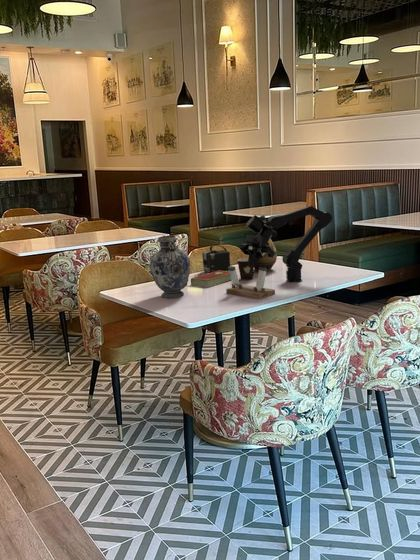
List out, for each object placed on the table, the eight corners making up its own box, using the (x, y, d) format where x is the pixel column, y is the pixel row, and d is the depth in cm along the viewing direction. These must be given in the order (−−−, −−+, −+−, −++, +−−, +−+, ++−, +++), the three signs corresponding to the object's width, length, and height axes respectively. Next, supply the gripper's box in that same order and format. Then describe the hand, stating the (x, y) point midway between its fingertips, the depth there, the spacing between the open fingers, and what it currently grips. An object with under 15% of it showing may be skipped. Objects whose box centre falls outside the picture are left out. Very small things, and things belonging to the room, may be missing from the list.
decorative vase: (198, 297, 242) (192, 236, 236) (158, 303, 237) (151, 241, 232) (186, 288, 262) (181, 232, 257) (149, 293, 258) (143, 236, 252)
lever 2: (258, 288, 238) (261, 267, 238) (263, 289, 235) (267, 268, 236) (255, 287, 236) (259, 267, 237) (260, 288, 234) (264, 267, 234)
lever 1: (235, 283, 248) (229, 265, 244) (240, 284, 245) (234, 266, 242) (232, 285, 247) (227, 267, 243) (237, 286, 244) (232, 268, 241)
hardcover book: (191, 285, 270) (190, 277, 269) (218, 277, 285) (218, 269, 284) (208, 288, 262) (207, 279, 261) (235, 279, 277) (235, 271, 276)
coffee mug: (236, 280, 273) (235, 261, 270) (241, 276, 280) (240, 258, 278) (257, 280, 268) (256, 261, 266) (262, 277, 276) (261, 258, 274)
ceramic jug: (279, 271, 286) (276, 216, 280) (250, 273, 287) (247, 218, 281) (275, 266, 303) (273, 213, 297) (248, 267, 303) (245, 215, 297)
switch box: (243, 288, 254) (242, 280, 253) (275, 293, 239) (274, 285, 238) (226, 293, 246) (226, 285, 246) (258, 299, 232) (257, 290, 231)
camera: (201, 271, 302) (199, 245, 299) (223, 268, 308) (221, 242, 305) (209, 274, 293) (207, 247, 290) (231, 270, 298) (230, 244, 295)
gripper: (240, 227, 257) (225, 253, 252) (269, 228, 243) (254, 256, 238) (252, 241, 263) (238, 266, 259) (281, 243, 250) (266, 270, 245)
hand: (248, 264), depth 250 cm, fingers closed
